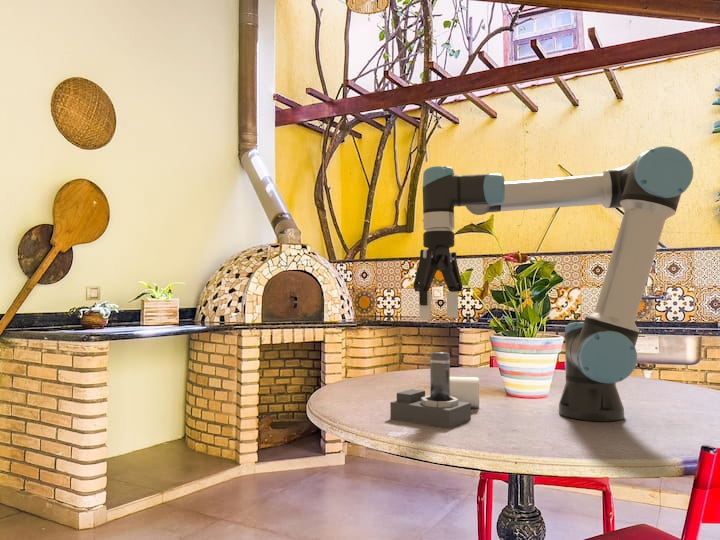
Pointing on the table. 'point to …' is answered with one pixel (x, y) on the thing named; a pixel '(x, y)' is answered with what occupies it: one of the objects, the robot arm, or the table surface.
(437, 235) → the robot arm
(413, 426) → the table surface
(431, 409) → the camera body
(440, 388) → the dark metallic upright block
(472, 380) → the cream upright block
